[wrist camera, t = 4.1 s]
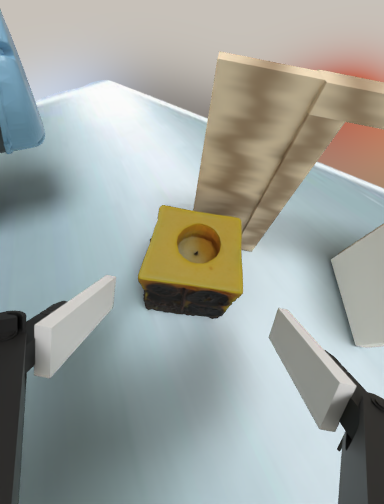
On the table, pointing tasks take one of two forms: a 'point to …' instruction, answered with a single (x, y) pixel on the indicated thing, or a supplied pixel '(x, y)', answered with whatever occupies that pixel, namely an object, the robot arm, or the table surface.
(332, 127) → the door frame
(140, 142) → the table surface
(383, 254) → the door
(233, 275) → the candle
